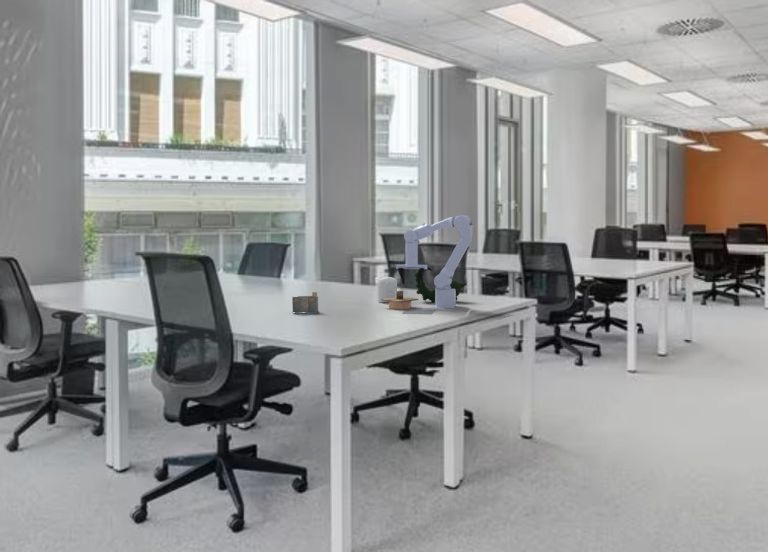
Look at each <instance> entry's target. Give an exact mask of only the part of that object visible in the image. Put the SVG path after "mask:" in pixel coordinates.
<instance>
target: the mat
mask: <svg viewBox="0 0 768 552" xmlns="http://www.w3.org/2000/svg"><path fill="white" fill-rule="evenodd" d="M436 310H437V309H411V308H409V309H405V310H404V311H403V312H402V313H401V315H433V314H434V313H435V312H436Z"/></svg>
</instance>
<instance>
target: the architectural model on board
mask: <svg viewBox="0 0 768 552" xmlns="http://www.w3.org/2000/svg"><path fill="white" fill-rule="evenodd" d="M311 294H312V295H302V296H301V295H300V296H299V295H297V296H292V297H291V298H292V313H293V312H318V313H319V296H318V291H312V293H311Z"/></svg>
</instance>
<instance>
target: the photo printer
mask: <svg viewBox="0 0 768 552" xmlns="http://www.w3.org/2000/svg"><path fill="white" fill-rule="evenodd" d="M396 291H398V280H397V278H395V277H393V276H385V277H382V278H379V279H378V281H377V302H378V303H380V304H382V303H383V304H384V303H389V301H382V300H381V299H386V298H394V297H396Z"/></svg>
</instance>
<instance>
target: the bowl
mask: <svg viewBox="0 0 768 552" xmlns="http://www.w3.org/2000/svg"><path fill="white" fill-rule="evenodd" d="M411 308H412V301H409V302H402V303H398V302H390V301H389V302H388V309H391V310H407V309H411Z"/></svg>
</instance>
